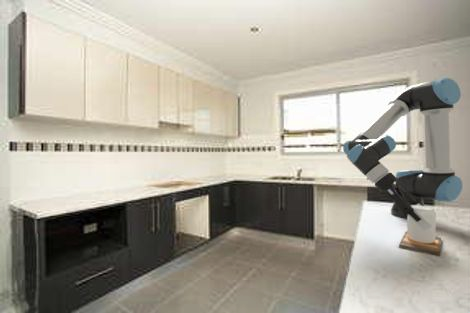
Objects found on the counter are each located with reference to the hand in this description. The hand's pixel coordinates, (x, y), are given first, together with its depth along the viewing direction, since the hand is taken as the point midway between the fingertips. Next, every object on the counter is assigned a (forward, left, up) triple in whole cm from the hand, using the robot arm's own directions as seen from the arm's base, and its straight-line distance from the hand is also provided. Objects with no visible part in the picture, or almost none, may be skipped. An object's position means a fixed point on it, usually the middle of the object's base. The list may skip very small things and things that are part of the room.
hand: (429, 223), depth 88 cm
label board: (0, -2, -8) cm, 8 cm away
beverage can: (0, -2, -7) cm, 7 cm away
